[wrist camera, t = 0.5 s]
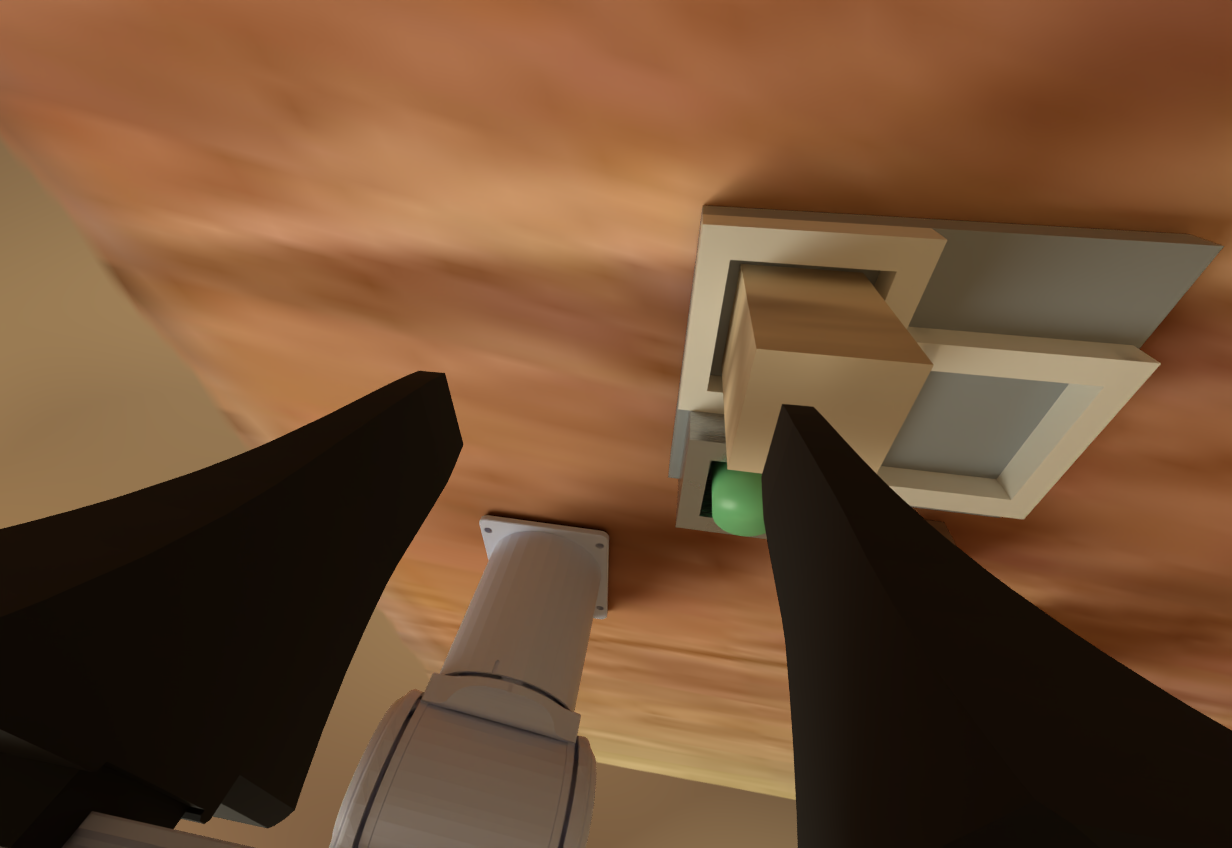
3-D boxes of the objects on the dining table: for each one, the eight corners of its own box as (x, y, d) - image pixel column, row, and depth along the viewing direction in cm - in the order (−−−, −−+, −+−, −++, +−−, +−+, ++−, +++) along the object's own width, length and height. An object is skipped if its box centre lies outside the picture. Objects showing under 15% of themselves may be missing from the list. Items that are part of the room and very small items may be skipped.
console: (784, 491, 22) (793, 542, 19) (678, 478, 22) (675, 527, 20) (814, 406, 19) (830, 455, 16) (691, 393, 19) (689, 439, 17)
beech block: (826, 375, 18) (870, 486, 13) (721, 365, 18) (727, 469, 13) (863, 272, 15) (933, 364, 10) (740, 263, 16) (756, 348, 11)
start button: (767, 492, 20) (774, 540, 18) (707, 484, 20) (707, 531, 18) (781, 447, 18) (791, 494, 16) (716, 440, 19) (717, 485, 17)
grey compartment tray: (986, 498, 22) (1013, 539, 20) (669, 460, 23) (666, 495, 21) (1190, 234, 14) (1263, 259, 12) (702, 205, 16) (702, 224, 14)
